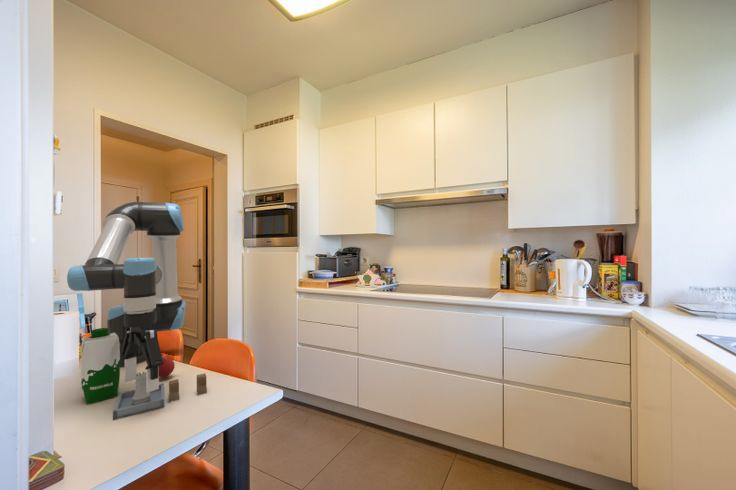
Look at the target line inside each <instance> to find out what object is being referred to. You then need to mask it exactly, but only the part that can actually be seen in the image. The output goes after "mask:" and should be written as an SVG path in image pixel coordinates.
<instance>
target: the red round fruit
mask: <svg viewBox="0 0 736 490" xmlns="http://www.w3.org/2000/svg"><path fill="white" fill-rule="evenodd" d="M162 359H163V364H162V365H159V378H160V379H167V378H168V377H169V376H170V375H171V374H172V373H173V372H174V369H175V362H174V361H173V359H171V358H170V357H168V355H167V354H163V355H162Z"/></svg>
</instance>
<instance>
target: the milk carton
mask: <svg viewBox="0 0 736 490" xmlns="http://www.w3.org/2000/svg"><path fill="white" fill-rule="evenodd" d="M119 346H120V343H119V337H118V335H116V334H115V333H111V334H110V333H109V334H108V327H102V328H101V327H100V328H94V329H92V330H91V331H90V336H87V337H86V336H85V337H83V338H82V342H81V349H80V353H81V356H80V357H81V358H80V359H81V360H80V366H81V367H80V369H81V370H80V373H81V374H80V377H81V378H80V380H81V388H82V393H83V396H84V400H85V404H86V405H92V404H94V403H95V404H96V403H99V402H102V401H105V400H108V399H113V398H115V397H116V398H117V397H118V396H119V387H120V376H121V367H120V348H119Z"/></svg>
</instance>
